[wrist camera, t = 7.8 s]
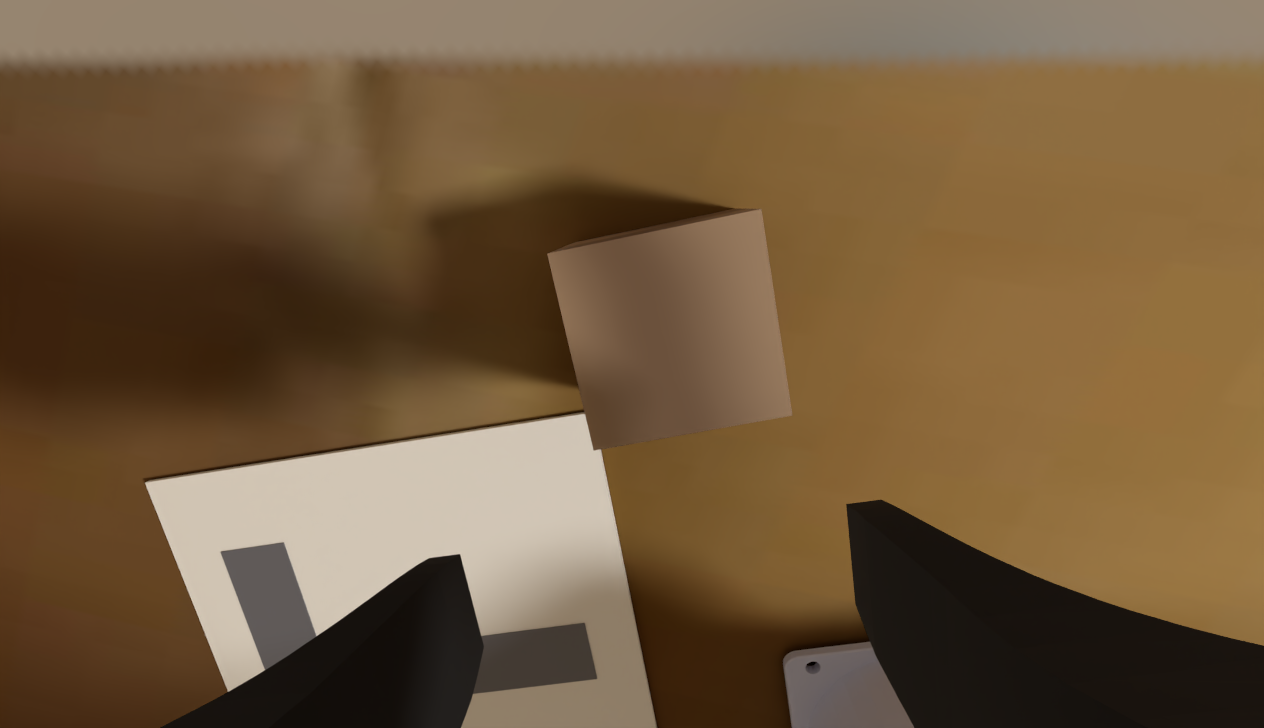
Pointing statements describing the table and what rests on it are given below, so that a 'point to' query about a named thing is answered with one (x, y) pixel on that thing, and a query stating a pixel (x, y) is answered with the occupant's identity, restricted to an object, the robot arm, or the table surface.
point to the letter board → (413, 532)
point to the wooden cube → (673, 328)
